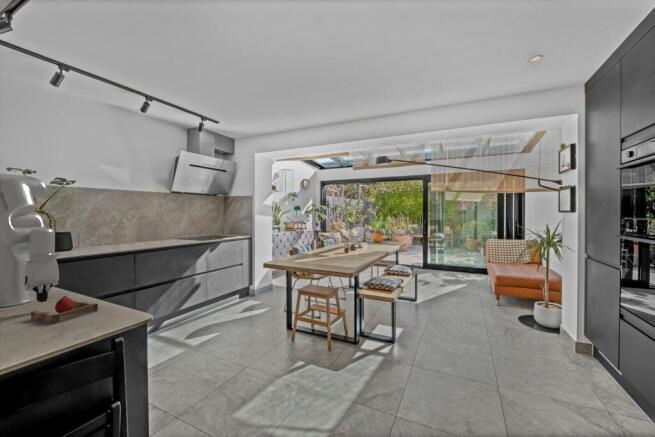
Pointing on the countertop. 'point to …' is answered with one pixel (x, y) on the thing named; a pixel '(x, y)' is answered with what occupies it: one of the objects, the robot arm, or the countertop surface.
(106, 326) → the countertop surface
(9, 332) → the countertop surface
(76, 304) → the corral
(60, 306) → the onion
